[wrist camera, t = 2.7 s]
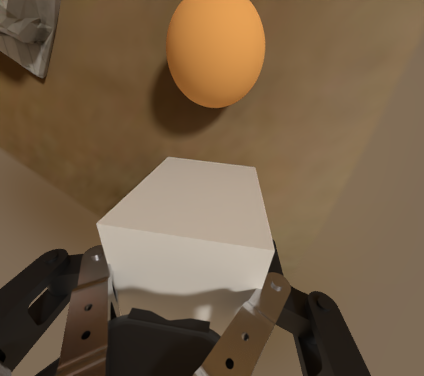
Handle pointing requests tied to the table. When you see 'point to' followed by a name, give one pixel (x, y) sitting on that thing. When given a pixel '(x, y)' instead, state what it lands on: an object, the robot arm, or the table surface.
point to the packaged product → (29, 32)
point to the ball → (215, 50)
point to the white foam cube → (189, 241)
